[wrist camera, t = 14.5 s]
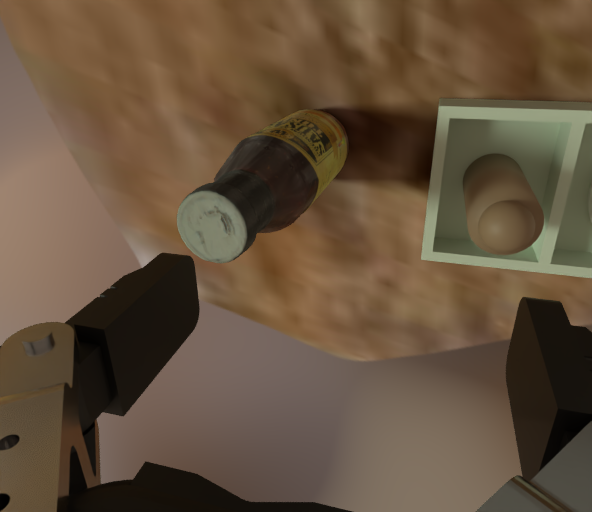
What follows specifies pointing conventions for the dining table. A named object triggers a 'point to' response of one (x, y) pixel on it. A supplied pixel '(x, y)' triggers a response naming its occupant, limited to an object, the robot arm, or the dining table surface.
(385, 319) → the dining table surface
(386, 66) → the dining table surface
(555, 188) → the caddy
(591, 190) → the eye dropper bottle
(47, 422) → the robot arm
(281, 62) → the dining table surface
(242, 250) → the sauce bottle
